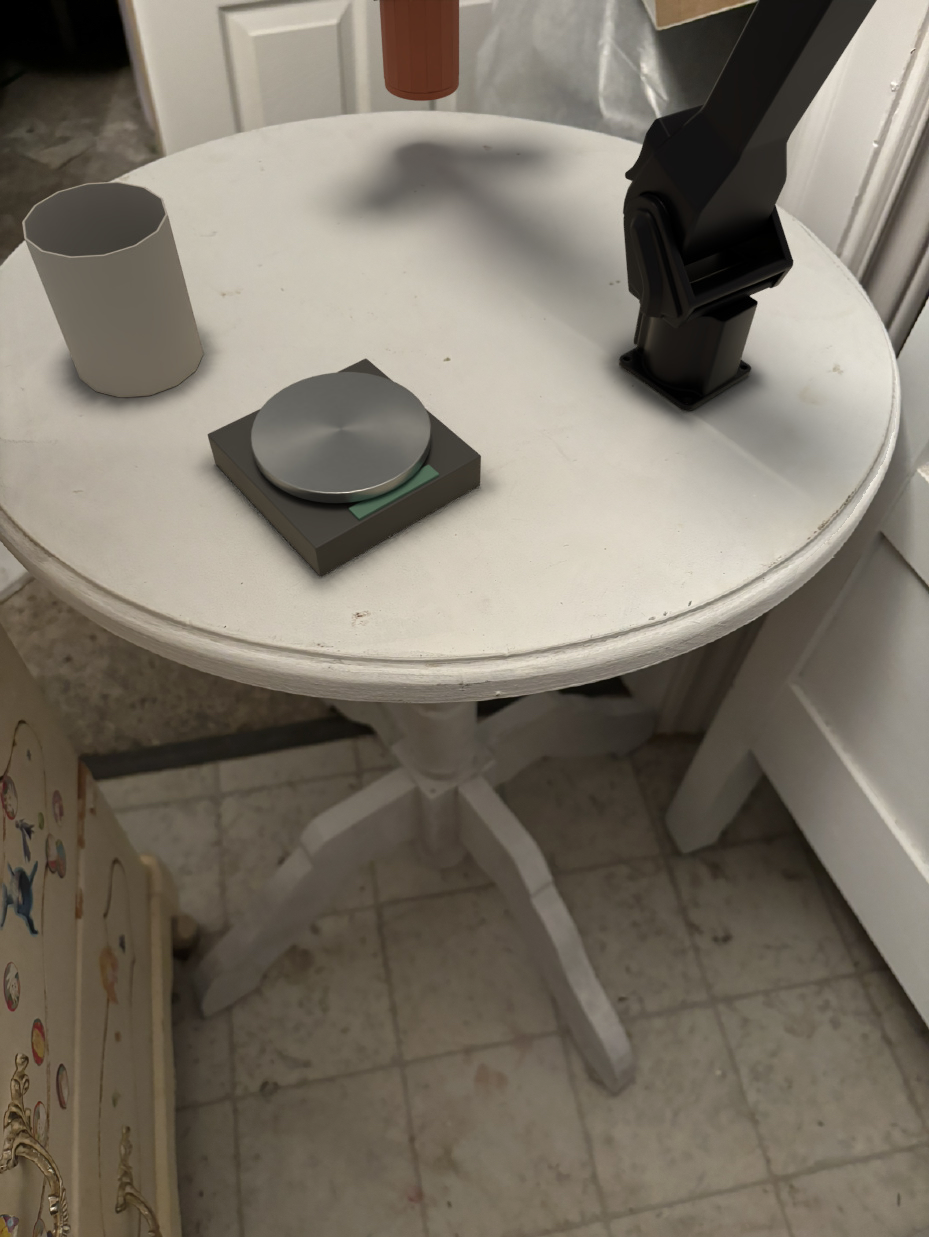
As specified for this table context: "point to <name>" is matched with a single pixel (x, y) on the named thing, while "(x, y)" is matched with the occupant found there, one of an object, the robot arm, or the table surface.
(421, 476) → the scale
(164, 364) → the cup
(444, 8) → the jar
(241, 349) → the table surface
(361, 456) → the scale pan
